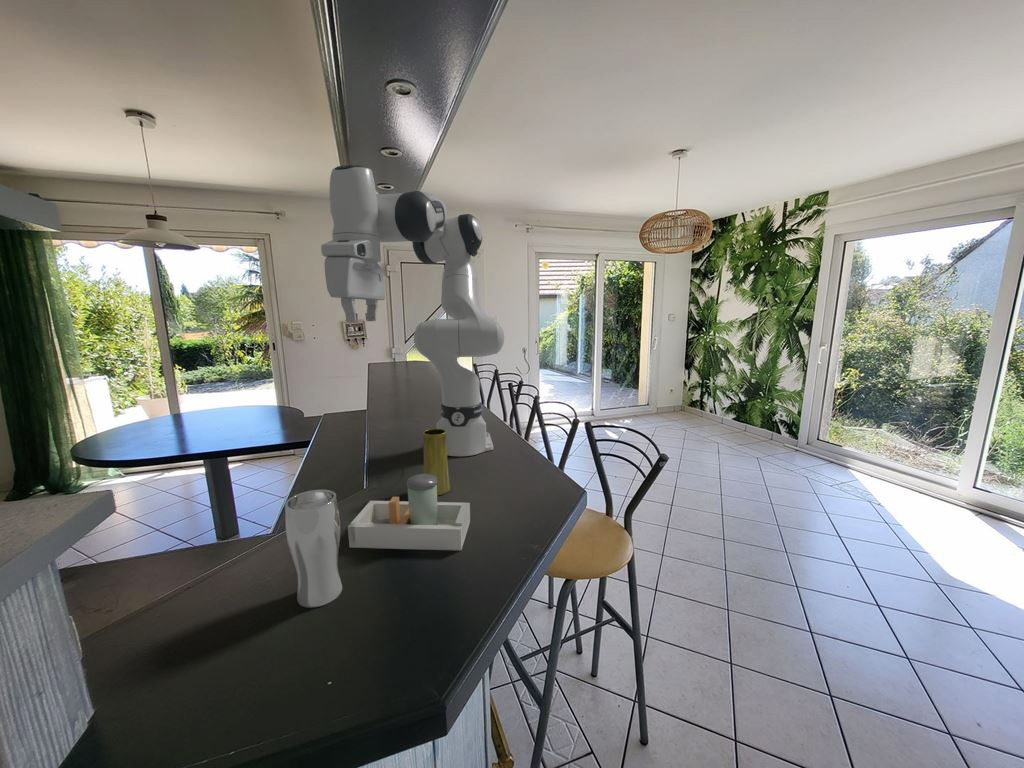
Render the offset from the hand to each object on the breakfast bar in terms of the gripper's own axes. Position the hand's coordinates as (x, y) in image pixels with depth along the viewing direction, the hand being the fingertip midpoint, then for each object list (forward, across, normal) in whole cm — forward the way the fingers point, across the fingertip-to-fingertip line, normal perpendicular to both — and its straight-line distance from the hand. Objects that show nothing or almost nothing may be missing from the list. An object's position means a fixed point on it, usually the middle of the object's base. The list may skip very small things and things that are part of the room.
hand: (362, 321), depth 84 cm
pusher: (+38, +14, +9) cm, 41 cm away
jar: (+38, +14, +15) cm, 43 cm away
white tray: (+39, +14, +13) cm, 43 cm away
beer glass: (+39, +31, +4) cm, 50 cm away
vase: (+39, -5, +13) cm, 42 cm away
